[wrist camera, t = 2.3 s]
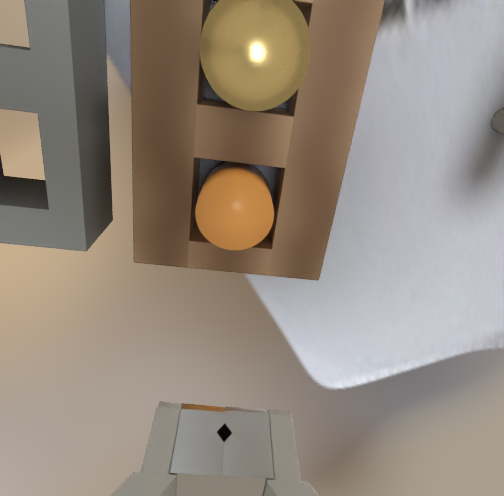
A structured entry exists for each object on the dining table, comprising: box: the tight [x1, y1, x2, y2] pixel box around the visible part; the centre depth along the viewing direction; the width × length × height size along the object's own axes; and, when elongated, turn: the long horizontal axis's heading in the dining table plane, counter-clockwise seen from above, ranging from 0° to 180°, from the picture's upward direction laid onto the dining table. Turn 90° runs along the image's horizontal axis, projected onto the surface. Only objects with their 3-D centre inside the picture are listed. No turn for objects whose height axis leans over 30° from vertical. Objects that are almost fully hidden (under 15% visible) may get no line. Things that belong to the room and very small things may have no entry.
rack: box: [0, 0, 113, 251], centre depth 20 cm, size 9×18×5 cm, turn 173°
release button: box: [195, 162, 274, 250], centre depth 22 cm, size 4×4×4 cm
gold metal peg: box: [200, 0, 311, 111], centre depth 18 cm, size 4×4×10 cm
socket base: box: [130, 0, 385, 280], centre depth 22 cm, size 12×18×4 cm, turn 173°
